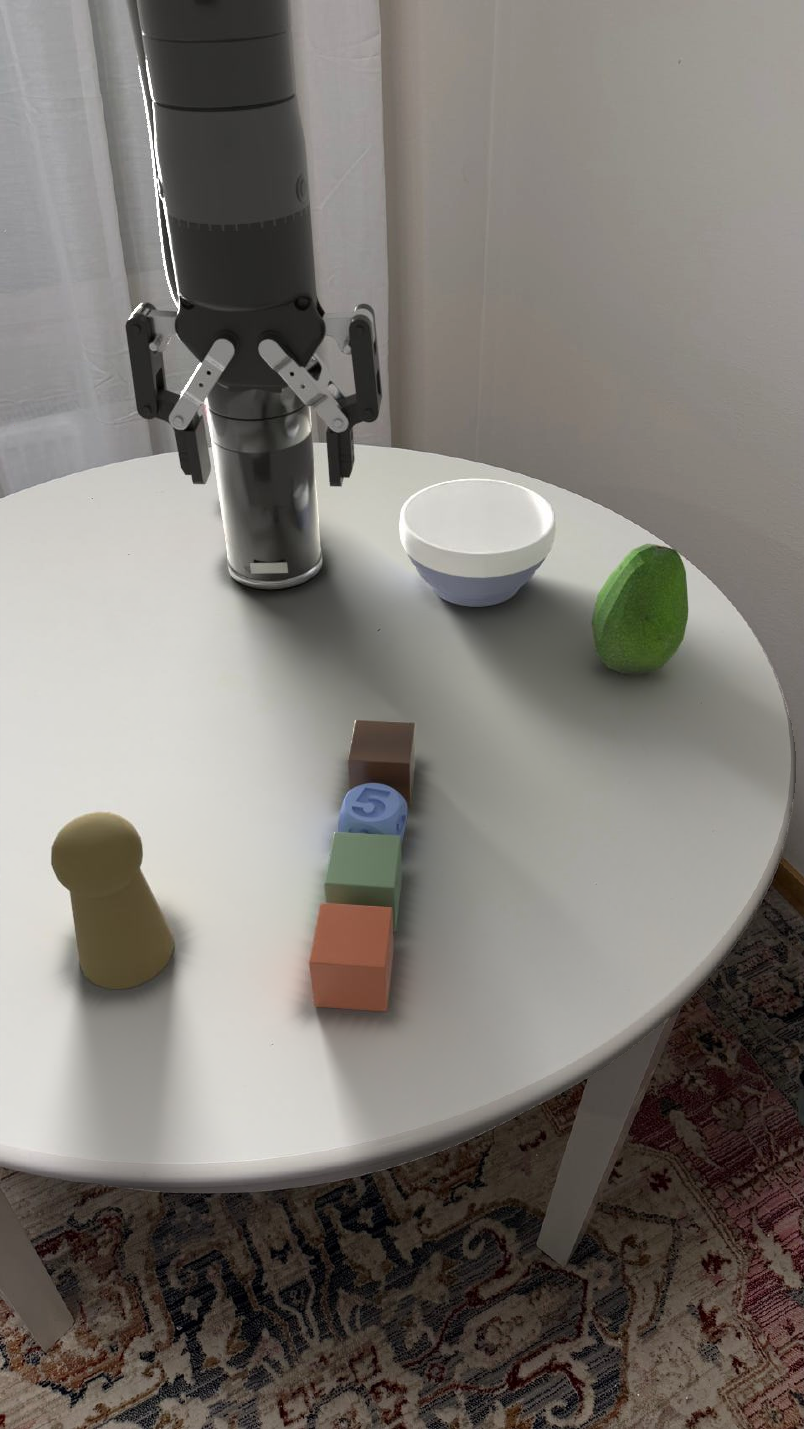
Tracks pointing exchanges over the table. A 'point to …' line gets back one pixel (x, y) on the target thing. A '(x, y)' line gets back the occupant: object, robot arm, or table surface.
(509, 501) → the bowl
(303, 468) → the robot arm
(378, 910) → the terracotta block
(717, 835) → the table surface
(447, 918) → the table surface
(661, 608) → the avocado
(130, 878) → the tan ball-topped figurine
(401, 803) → the decorative dice
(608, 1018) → the table surface
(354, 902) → the sage block
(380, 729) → the walnut block
